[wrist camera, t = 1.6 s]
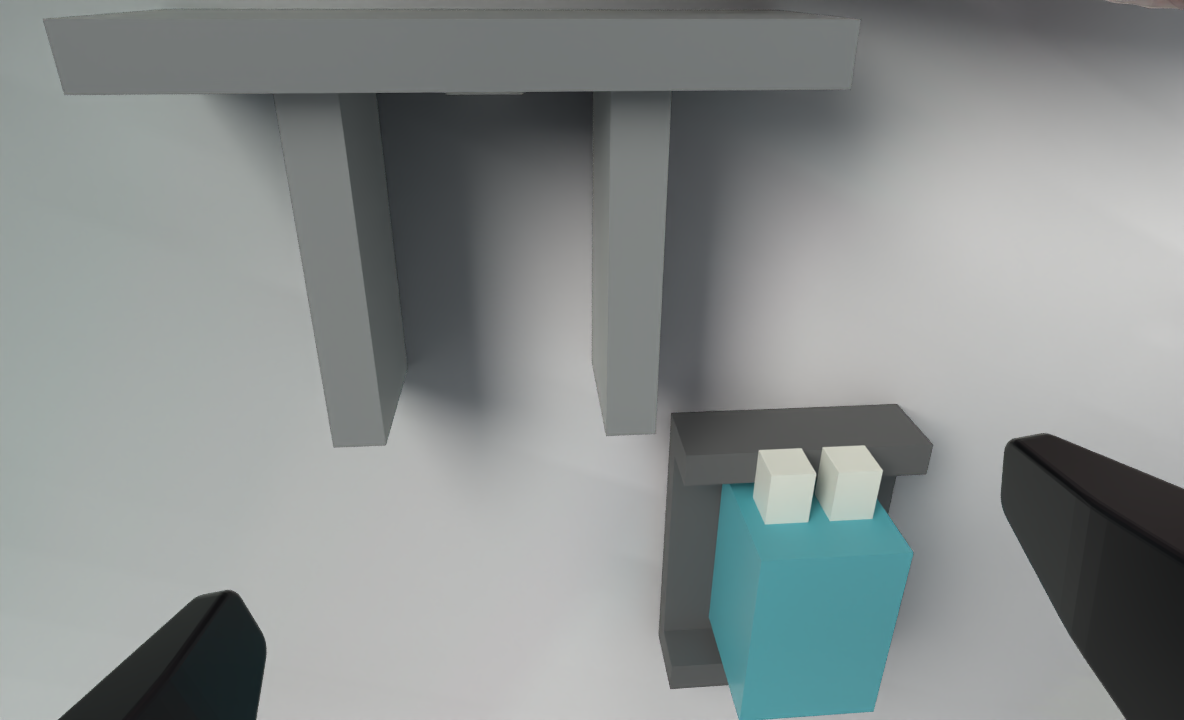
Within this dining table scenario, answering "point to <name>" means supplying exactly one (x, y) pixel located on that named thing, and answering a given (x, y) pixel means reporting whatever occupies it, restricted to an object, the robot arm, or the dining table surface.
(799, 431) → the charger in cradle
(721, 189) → the dining table surface
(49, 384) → the dining table surface
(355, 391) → the socket
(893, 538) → the plug
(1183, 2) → the towel
